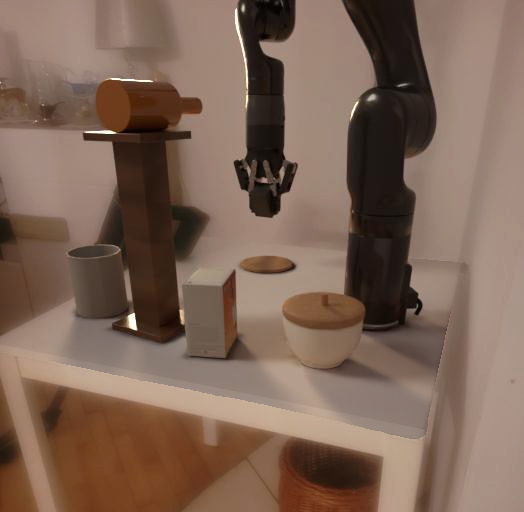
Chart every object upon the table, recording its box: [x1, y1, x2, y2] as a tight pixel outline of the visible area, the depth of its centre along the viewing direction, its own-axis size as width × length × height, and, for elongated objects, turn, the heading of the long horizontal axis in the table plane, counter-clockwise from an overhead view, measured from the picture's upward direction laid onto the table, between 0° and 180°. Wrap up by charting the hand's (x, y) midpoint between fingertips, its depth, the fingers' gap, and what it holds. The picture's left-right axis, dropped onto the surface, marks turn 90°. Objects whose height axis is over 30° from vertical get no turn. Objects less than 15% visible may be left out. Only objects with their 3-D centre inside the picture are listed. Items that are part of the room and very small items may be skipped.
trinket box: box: [281, 291, 365, 370], centre depth 65 cm, size 11×11×9 cm
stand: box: [82, 129, 192, 344], centre depth 71 cm, size 10×10×28 cm
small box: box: [181, 266, 238, 359], centre depth 68 cm, size 8×6×10 cm
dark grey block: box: [248, 182, 275, 219], centre depth 100 cm, size 6×4×4 cm
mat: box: [241, 255, 293, 274], centre depth 106 cm, size 11×11×1 cm
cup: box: [65, 244, 129, 319], centre depth 81 cm, size 8×8×10 cm
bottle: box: [94, 78, 204, 133], centre depth 67 cm, size 17×6×6 cm, turn 149°
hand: (264, 213), depth 101 cm, fingers closed on dark grey block, 4 cm apart
